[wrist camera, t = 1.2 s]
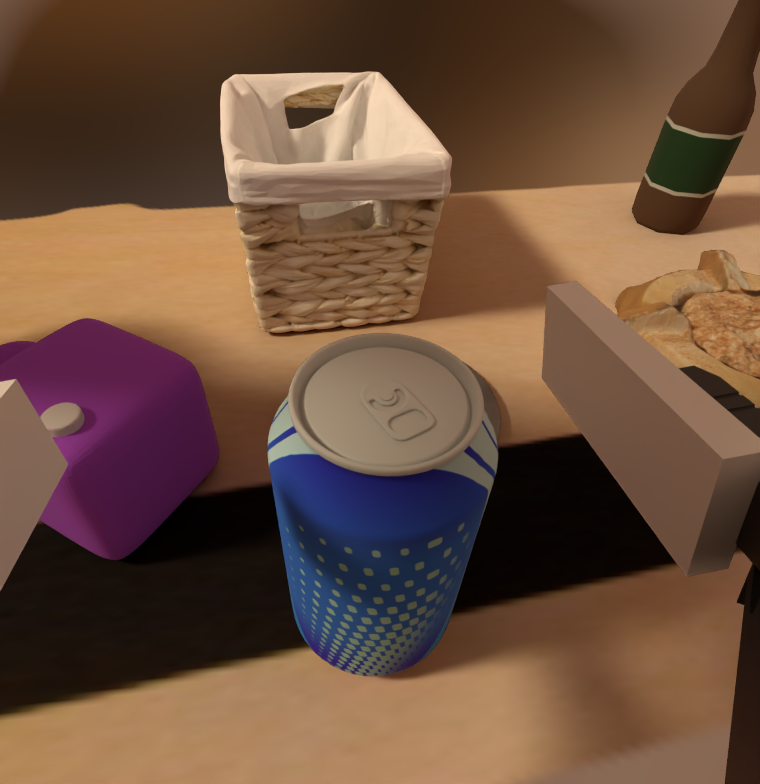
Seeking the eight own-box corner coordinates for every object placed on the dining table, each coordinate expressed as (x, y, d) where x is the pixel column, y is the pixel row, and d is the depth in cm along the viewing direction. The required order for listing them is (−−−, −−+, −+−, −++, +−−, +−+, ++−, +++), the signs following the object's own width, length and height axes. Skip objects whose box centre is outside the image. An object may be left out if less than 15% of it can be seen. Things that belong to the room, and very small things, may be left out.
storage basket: (239, 216, 61) (217, 68, 50) (378, 208, 64) (384, 66, 53) (250, 349, 44) (220, 169, 34) (437, 329, 47) (463, 159, 37)
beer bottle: (636, 200, 68) (730, -42, 51) (701, 216, 65) (823, -33, 48) (623, 224, 63) (722, -35, 46) (692, 242, 60) (825, -25, 44)
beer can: (276, 673, 26) (224, 479, 15) (311, 525, 32) (292, 307, 21) (447, 696, 26) (522, 514, 15) (450, 542, 32) (505, 329, 21)
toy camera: (73, 395, 39) (14, 278, 32) (241, 441, 37) (217, 325, 30) (-52, 515, 32) (-164, 396, 25) (149, 583, 29) (88, 472, 22)
